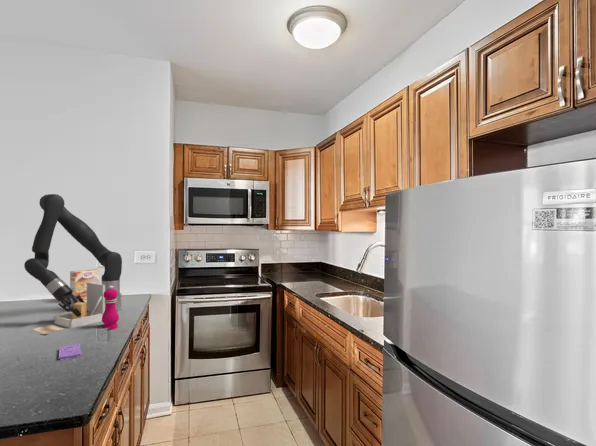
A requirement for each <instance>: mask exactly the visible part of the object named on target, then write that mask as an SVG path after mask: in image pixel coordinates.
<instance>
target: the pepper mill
mask: <svg viewBox="0 0 596 446" xmlns="http://www.w3.org/2000/svg"><path fill="white" fill-rule="evenodd" d="M112 288H113V286H109V289H107V290H106V291H105V292H104V294H103V296H104V298H105V303H106V307H105V311H104V313H103V316H102V321H101V322H102V323H103V324H102V328H104V329H106V330H110V331H111V330H115V329H116V330H117V328H118V326H119V325H118V324H119V323H118V321H119V318H120V317H119V313H118V311H117V310H116V307H115V303H116V300H117V299H116V297H117V296H118V292H117V291H116V290H115V289H112Z"/></svg>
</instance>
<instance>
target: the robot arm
mask: <svg viewBox="0 0 596 446" xmlns="http://www.w3.org/2000/svg"><path fill="white" fill-rule="evenodd" d="M39 206H40V208H41V209H42V210H43V216H42V220H41V222H40V225H39V227H38V229H37V231H36V233H35V235H34V239H33V243H32V245H31V251H32V252H33V254H34V258H33V257H32V258H28V259H26V260H25V262H24V265H23V266H24V269H25V271H26V273H28V274H29V275H30V276H32V277H33V278H35V279H36V280H37V281H39V282H40V284H41V285H43V286H44V288H45V289H47V291H48V293H50V294H51V296H52V297H54V299H55V300H56V301H57V302H59V303H58V304H57V305H58V306H60V308H62V309H63V310H65V312H67V313H72V312H73V313H74V314H75V315H76V316H77V317H79V316H80V315H81V313H80V312H79V311H78V310H77V309H76V307H75V306H74V304H75V303H80V302H82V303H86V302H84V301H83V299H82V298H81V297H80V295H78V296H74V295H73V294H72V292H73V290H72V289H71V288H70V285H68V284H67V283H66V282H65V281H64V280H63V279H61V278H60V277H59V276H58V275H57V273H56V272H54V271H53V270H50V269H48V267H49V261H50V252H49V251H50V247H51V244H52V240H53V239H52V238H53V236H54V232H55V229H56V225H57V224H58V223H59V224H60V225H61V227H63V229H64V230H65V231H66V232H67V233H69V235H70V236H71V237H72V238H73V239H74V240H75V241H76V242H78V244H79V245H81V246H82V247H83V248H85V249H86V250H87V251H88V252H90V253H91V255H92V256H93V257H94V258H95V259H96V260H97V262H99V264H100V265H101V266H102V267H103V268H104V273H103V274H102V275H101V284H102V285H105V291H106V290H107V289H109V286H113V288H112V289H115V290H116V291H117V292H118V296H117V297H116V299H117V300H116V303H115V307H116V310H117V312H119V311H120V310H122V292H120V291H121V290H120V289H121V287H120V286H121V275H122V272H123V271H122V269H123V258H122V255H121V254H120V253H119V252H117V251H111V250H109V249H108V248H107V247H106V246H105V245H104V244H102V242H101V241H100V239H99V237H98V235H97V234H96V233H95V231H94V229H92V228H91V227H90V225H88V224H87V223H86V222H84V221H83V220H82V219H80V218H79V217H77V216H76V215H74V214H73V213H72V212H71V211H69V210H68V209H67V208H66V207H65V200H64V198H63V197H62V196H61V195H59V194H55V193H51V194H50V193H48V194H44V195H43V196H41V197H40V199H39ZM57 222H58V223H57ZM105 307H106V303H105ZM87 313H88V310H87Z"/></svg>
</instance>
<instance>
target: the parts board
mask: <svg viewBox="0 0 596 446" xmlns="http://www.w3.org/2000/svg"><path fill="white" fill-rule="evenodd" d="M65 329H66V327H63V326H60V325H56V324H49V325H44V326H39V327H35V328H30V330H31V331H35V332H38V333H39V335H41V336H44V337H45V336H48V335H50V333H51V332H57V331H60V330H65ZM40 333H41V334H40ZM48 333H49V334H48Z"/></svg>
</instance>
